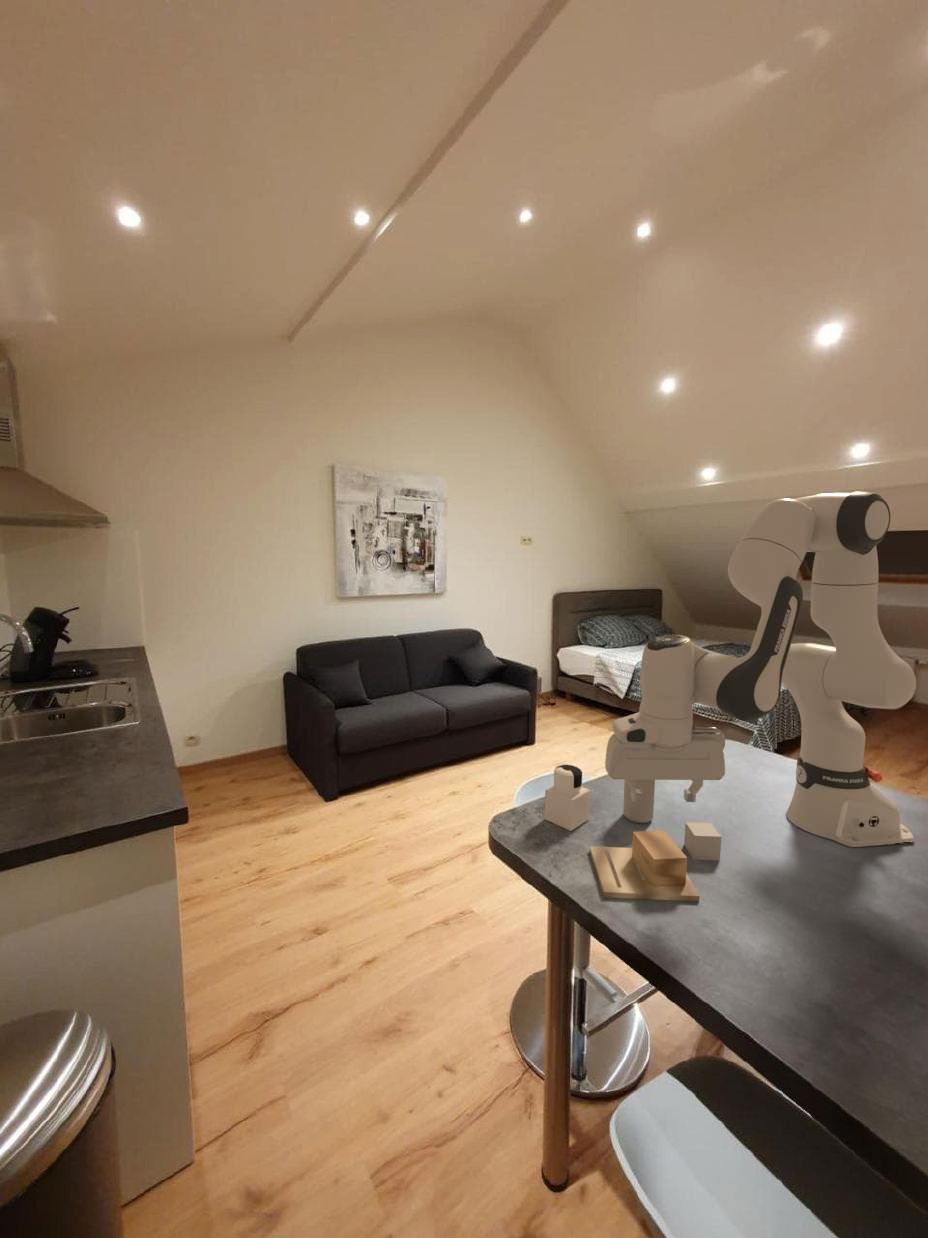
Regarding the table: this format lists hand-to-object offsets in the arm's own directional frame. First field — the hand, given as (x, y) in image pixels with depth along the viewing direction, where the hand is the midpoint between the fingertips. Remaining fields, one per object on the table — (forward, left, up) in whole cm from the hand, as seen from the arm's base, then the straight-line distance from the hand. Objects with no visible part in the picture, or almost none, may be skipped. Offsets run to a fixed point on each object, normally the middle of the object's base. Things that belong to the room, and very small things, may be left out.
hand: (662, 800), depth 95 cm
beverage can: (-2, -21, -15) cm, 25 cm away
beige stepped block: (+14, -19, -15) cm, 28 cm away
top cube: (-11, -8, -15) cm, 20 cm away
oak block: (0, 0, -13) cm, 13 cm away
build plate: (+3, 0, -14) cm, 15 cm away
